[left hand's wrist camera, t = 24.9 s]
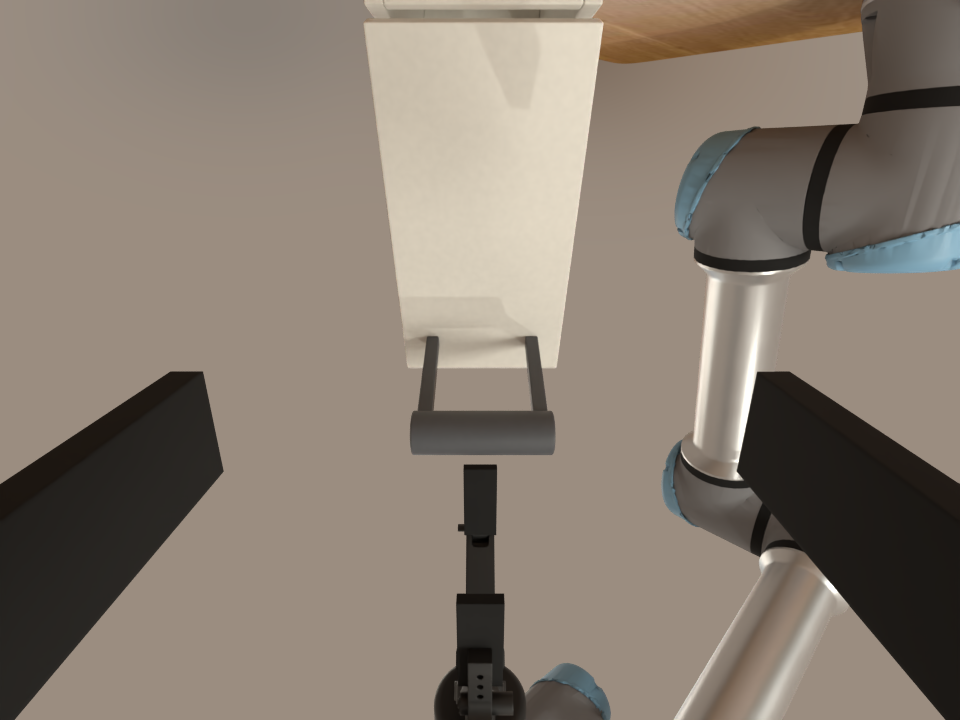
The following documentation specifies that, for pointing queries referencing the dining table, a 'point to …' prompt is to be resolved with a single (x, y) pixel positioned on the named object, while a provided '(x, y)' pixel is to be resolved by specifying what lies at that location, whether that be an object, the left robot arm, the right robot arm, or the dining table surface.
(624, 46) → the dining table surface
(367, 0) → the chest
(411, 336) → the lid
